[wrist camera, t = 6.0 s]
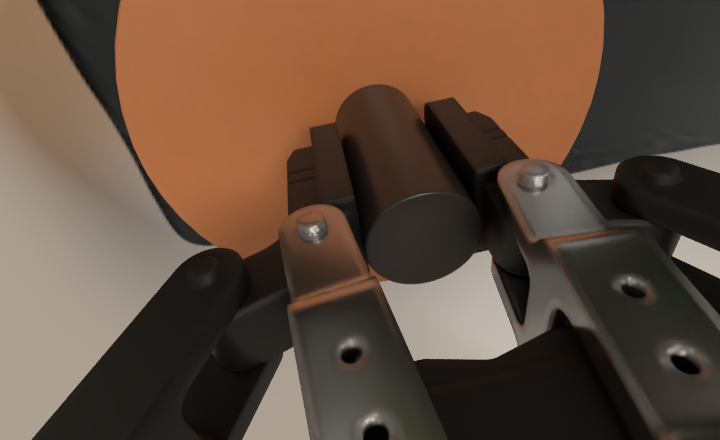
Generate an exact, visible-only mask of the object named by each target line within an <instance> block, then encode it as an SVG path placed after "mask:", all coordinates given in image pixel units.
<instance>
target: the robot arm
mask: <svg viewBox="0 0 720 440" xmlns="http://www.w3.org/2000/svg"><path fill="white" fill-rule="evenodd" d="M424 122H425V126H426V127H427V129H428V131H429V132H430V134H431V135H432V137H433V139H434V140H435V142H436V143H437V145H438V147H439V148H440V150H441V151H442V153H443V154H444V156H445V158H446V159H447V161H448V162H449V164H450V166H451V167H452V169H453V170H454V172H455V173H456V175H457V177H458V178H459V180H460V181H461V183H462V185H463V186H464V188H465V189H466V191H467V193H468V194H469V196H470V197H471V199H472V200H473V202H474V204H475V205H476V207H477V208H478V210H479V212H480V214H481V217H482V221H483V232H482V237H481V241H480V243H479V245H478V247H477V249H476V251H475V252H474V253H477V252H482V251H486V250H489V252H490V253H491V255H492V266H491V271H492V275H493V278H494V280H495V283H496V286H497V288H498V291H499V294H500V296H501V299H502V302H503V304H504V307H505V310H506V312H507V315H508V318H509V320H510V323H511V325H512V328H513V331H514V333H515V337H516V340H517V343H518V347H516V348H514V349H512V350H510V351H508V352H506V353H505V354H503V355H501V356H499V357H497V358H494V359H489V360H462V359H461V360H459V359H422V360H417V361H414V360H413V358H412V356H411V354H410V351H409V349H408V347H407V345H406V343H405V340H404V338H403V336H402V333H401V331H400V329H399V326H398V324H397V322H396V320H395V317H394V315H393V313H392V311H391V308H390V306H389V304H388V302H387V299H386V297H385V295H384V292H383V290H382V288H381V286H380V283H379V281H378V280H377V278H376V277H375V276H372V277H371V275H370V270H369V265H368V261H367V260H366V256H365V253H364V248H363V244H362V240H361V226H360V221H359V216H358V211H357V206H356V201H355V197H354V193H353V188H352V184H351V180H350V176H349V172H348V168H347V164H346V160H345V156H344V152H343V148H342V144H341V140H340V136H339V132H338V128H337V124H336V122H334V123H329V124H325V125H320V126H315V127H311V128H310V136H311V144H312V146H310V147H305V148H300V149H296V150H294V151H293V152H292V154H291V156H290V157H289V159H288V160H287V184H288V185H287V195H288V217H286V218H285V219H284V220H283V222H282V223H281V225H280V227H279V230H278V238H279V239H278V240H277V241H276V242H274V243H273V244H272V245H270V246H269V247H267V248H265V249H263V250H261V251H259V252H257V253H255V254H253V255H251V256H249V257H246V258H244V259H242V257H241V256H240V254H239V253H238V252H236V251H235V250H232V249H229V248H214V249H209V250H205V251H202V252H200V253H198V254H196V255H194V256H192V257H190V258H189V259H187V260H186V261H185V262H184V263H182V264H181V265H180V266H179V267H178V268H177V269H176V270H175V272H174V273H173V274H172V275H171V276H170V278H169V279H168V280H167V281H166V282H165V283H164V284H163V286H162V287H161V288H160V289H159V290H158V292H157V293H156V294H155V295H154V296H153V297H152V299H151V300H150V301H149V302H148V303H147V305H146V306H145V307H144V308H143V309H142V310H141V312H140V313H139V314H138V315H137V316H136V317H135V319H134V320H133V321H132V322H131V323H130V325H129V326H128V327H127V328H126V329H125V330H124V332H123V333H122V334H121V335H120V336H119V337H118V339H117V340H116V341H115V342H114V343H113V345H112V346H111V347H110V348H109V349H108V350H107V352H106V353H105V354H104V355H103V356H102V357H101V359H100V360H99V361H98V362H97V363H96V365H95V366H94V367H93V368H92V369H91V371H90V372H89V373H88V374H87V375H86V376H85V378H84V379H83V380H82V381H81V382H80V384H79V385H78V386H77V387H76V388H75V389H74V390H73V392H72V393H71V394H70V395H69V396H68V397H67V399H66V400H65V401H64V402H63V403H62V405H61V406H60V407H59V408H58V409H57V411H56V412H55V413H54V414H53V415H52V416H51V417H50V419H49V420H48V421H47V422H46V423H45V425H44V426H43V427H42V428H41V429H40V430H39V432H38V433H37V434H36V435H35V436H34V438H33V439H32V440H242V439H243V437H244V435H245V432H246V431H247V428H248V427H249V425H250V423H251V421H252V419H253V417H254V415H255V412H256V411H257V409H258V406H259V404H260V402H261V400H262V398H263V396H264V394H265V392H266V390H267V388H268V386H269V384H270V382H271V380H272V378H273V376H274V374H275V372H276V370H277V368H278V366H279V364H280V362H281V360H282V357H283V352H284V351H286V350H288V349H290V348H292V347H294V352H295V357H296V363H297V369H298V374H299V380H300V385H301V391H302V396H303V402H304V408H305V413H306V419H307V424H308V430H309V435H310V440H720V279H719V278H717V277H715V276H713V275H711V274H709V273H706V272H705V271H702V270H700V269H698V268H696V267H694V266H692V265H690V264H687V263H685V262H683V261H681V260H679V259H677V258H675V257H672V254H673V252H674V250H675V248H676V246H677V243H678V241H679V239H680V236H681V235H683V236H685V237H687V238H690V239H692V240H694V241H697V242H699V243H701V244H704V245H706V246H708V247H711V248H713V249H715V250H718V251H720V173H717V172H714V171H711V170H707V169H705V168H701V167H698V166H695V165H692V164H689V163H686V162H683V161H679V160H676V159H672V158H667V157H662V156H637V157H632V158H629V159H626V160H624V161H623V162H621V163H620V164H619V165H618V167H617V169H616V172H615V176H614V179H613V180H574V178H573V177H572V176H571V174H570V173H569V172H568V171H567V170H566V169H565V168H564V167H562V166H560V165H559V164H556V163H554V162H551V161H547V160H542V159H530V158H529V157H528V156H527V155H526V154H525V153H524V152H523V151H522V150H521V149H520V148H519V147H518V146H517V145H516V144H515V142H514V141H513V140H512V139H511V138H510V137H507V134H506V133H505V132H504V131H503V130H502V129H500V127H499V126H498V125H497V123H496V122H495V121H494V120H493V119H492V118H491V117H489V116H486V115H484V114H481V113H479V112H477V111H473V112H468V113H467V112H466V111H465V110H464V109H463V108H462V106H461V105H460V104H459V103H458V102H457V101H456V99H455V98H453V97H451V98H446V99H442V100H437V101H432V102H428V103H425V105H424Z"/></svg>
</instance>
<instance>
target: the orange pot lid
mask: <svg viewBox="0 0 720 440" xmlns="http://www.w3.org/2000/svg"><path fill="white" fill-rule="evenodd" d="M603 40H604V6H603V0H121V1H120V4H119V11H118V20H117V29H116V38H115V62H116V82H117V87H118V93H119V98H120V104H121V109H122V114H123V117H124V120H125V123H126V126H127V129H128V132H129V135H130V138H131V141H132V144H133V146H134V148H135V150H136V152H137V154H138V157H139V159H140V161H141V163H142V165H143V167H144V169H145V171H146V173H147V174H148V176H149V177H150V179H151V180H152V182H153V183H154V185H155V186H156V188H157V189H158V191H159V192H160V194H161V195H162V197H163V198H164V199H165V200H166V201H167V202H168V203H169V205H170V206H171V207H172V208H173V209H174V210H175V212H176V213H177V214H178V215H179V216H180V217H181V218H182V219H183V220H184V221H185V222H186V223H187V224H188V225H190V226H191V227H192V228H193V229H194V230H195V231H196V232H197V233H198V234H199V235H201V236H202V237H204V238H205V239H206V240H208V241H209V242H211V243H212V244H213V245H215V246H216V247H218V248H229V249H232V250H235V251H236V252H238V253H239V254H240V256H241V257H242V259H244V258H246V257H249V256H251V255H253V254H255V253H257V252H259V251H261V250H263V249H265V248H267V247H269V246H270V245H272V244H273V243H274V242H276V241H277V240H278V239H279V238H278V230H279V227H280V225H281V223H282V222H283V220H284V219H285V218H286V217H288V195H287V185H288V184H287V160H288V159H289V157H290V156H291V154H292V152H293V151H294V150H296V149H300V148H305V147H310V146H312V144H311V136H310V128H311V127H315V126H320V125H325V124H329V123H334V122H336V124H337V128H338V132H339V136H340V140H341V144H342V148H343V152H344V156H345V160H346V164H347V168H348V172H349V176H350V180H351V184H352V188H353V193H354V197H355V201H356V206H357V211H358V216H359V221H360V226H361V240H362V244H363V248H364V253H365V256H366V260H367V261H368V265H369V270H370V275H371V277H372V276H375V277H376V278H377V280H378V281H379V282H381V281H387V280H390V281H392V282H396V283H401V284H420V283H426V282H431V281H434V280H437V279H440V278H442V277H445V276H446V275H449V274H450V273H452V272H453V271H455V270H457V269H458V268H460V267H461V266H462V265H463V264H464V263H466V262H467V261H468V260H469V259H470V257H471V256H472V255H473V254H474V252H475V251H476V249H477V247H478V245H479V243H480V241H481V237H482V232H483V221H482V217H481V214H480V212H479V210H478V208H477V207H476V205H475V204H474V202H473V200H472V199H471V197H470V196H469V194H468V193H467V191H466V189H465V188H464V186H463V185H462V183H461V181H460V180H459V178H458V177H457V175H456V173H455V172H454V170H453V169H452V167H451V166H450V164H449V162H448V161H447V159H446V158H445V156H444V154H443V153H442V151H441V150H440V148H439V147H438V145H437V143H436V142H435V140H434V139H433V137H432V135H431V134H430V132H429V131H428V129H427V127H426V126H425V122H424V105H425V103H428V102H432V101H437V100H442V99H446V98H451V97H453V98H455V99H456V101H457V102H458V103H459V104H460V105H461V106H462V108H463V109H464V110H465V111H466V112H467V113H468V112H473V111H477V112H479V113H481V114H484V115H486V116H489V117H491V118H492V119H493V120H494V121H495V122H496V123H497V125H498V126H499V127H500V129H502V130H503V131H504V132H505V133H506V134H507V137H510V138H511V139H512V140H513V141H514V142H515V144H516V145H517V146H518V147H519V148H520V149H521V150H522V151H523V152H524V153H525V154H526V155H527V156H528V157H529V158H530V159H542V160H547V161H551V162H554V163H556V164H559V165H561V163H562V162H563V160H564V159H565V157H566V156H567V154H568V152H569V151H570V149H571V147H572V145H573V143H574V141H575V139H576V137H577V135H578V133H579V132H580V130H581V127H582V125H583V122H584V119H585V117H586V114H587V112H588V109H589V107H590V104H591V101H592V98H593V94H594V90H595V87H596V83H597V79H598V76H599V70H600V63H601V57H602V50H603Z"/></svg>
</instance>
